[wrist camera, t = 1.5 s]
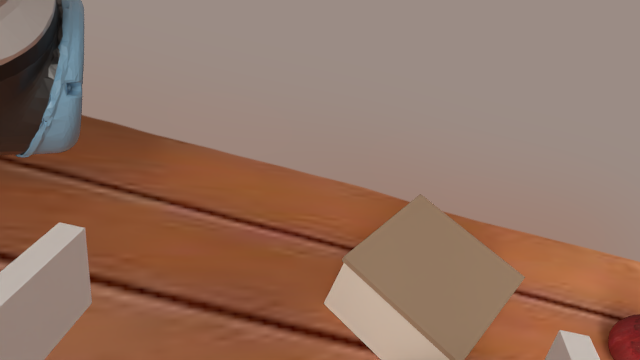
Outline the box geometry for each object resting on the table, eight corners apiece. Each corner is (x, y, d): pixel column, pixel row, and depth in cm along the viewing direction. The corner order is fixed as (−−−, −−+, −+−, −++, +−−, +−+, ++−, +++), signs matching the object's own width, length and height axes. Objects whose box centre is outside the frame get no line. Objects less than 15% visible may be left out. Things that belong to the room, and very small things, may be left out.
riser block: (320, 303, 48) (343, 256, 42) (393, 240, 56) (420, 194, 50) (420, 401, 44) (461, 364, 38) (484, 318, 51) (525, 277, 46)
